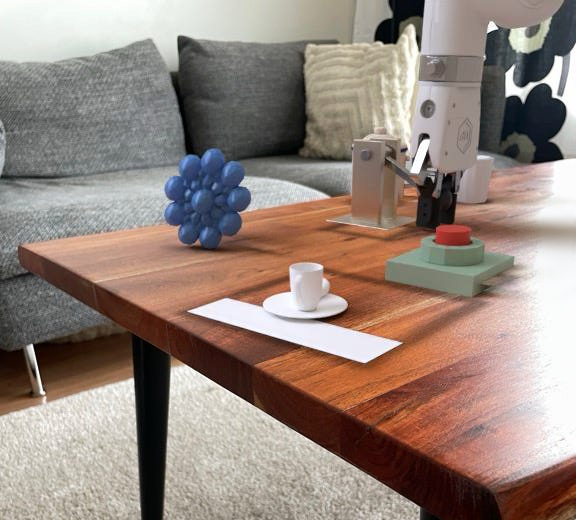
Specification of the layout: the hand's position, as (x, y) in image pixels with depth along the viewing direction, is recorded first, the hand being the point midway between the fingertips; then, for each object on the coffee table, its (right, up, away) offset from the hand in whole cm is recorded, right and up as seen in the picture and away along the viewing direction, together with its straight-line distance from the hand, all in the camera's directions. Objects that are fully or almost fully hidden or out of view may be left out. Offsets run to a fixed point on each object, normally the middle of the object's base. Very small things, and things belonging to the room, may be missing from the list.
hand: (435, 224), depth 94 cm
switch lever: (-4, +5, +1) cm, 7 cm away
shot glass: (+11, +9, +26) cm, 29 cm away
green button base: (-2, -10, -17) cm, 20 cm away
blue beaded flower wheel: (-29, -4, -4) cm, 29 cm away
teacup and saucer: (-15, -14, -26) cm, 33 cm away
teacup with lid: (-3, +9, +24) cm, 26 cm away
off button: (-2, -6, -18) cm, 20 cm away
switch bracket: (-7, +1, +6) cm, 10 cm away
